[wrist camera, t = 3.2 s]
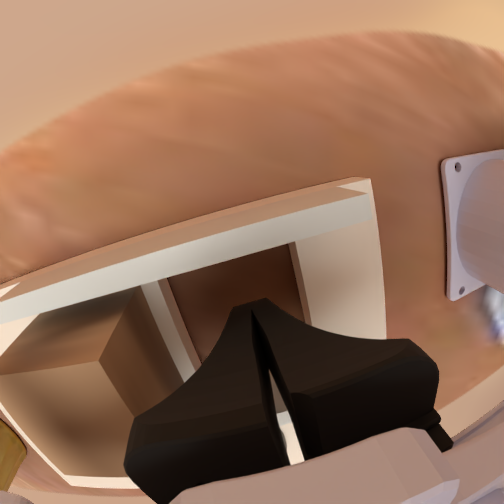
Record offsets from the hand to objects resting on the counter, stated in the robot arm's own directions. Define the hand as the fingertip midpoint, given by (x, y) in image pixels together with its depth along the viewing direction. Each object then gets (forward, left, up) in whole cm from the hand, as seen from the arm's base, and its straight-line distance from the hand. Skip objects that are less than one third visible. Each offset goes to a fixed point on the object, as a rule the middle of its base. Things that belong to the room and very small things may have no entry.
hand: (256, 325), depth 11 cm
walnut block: (+6, 0, -1) cm, 6 cm away
